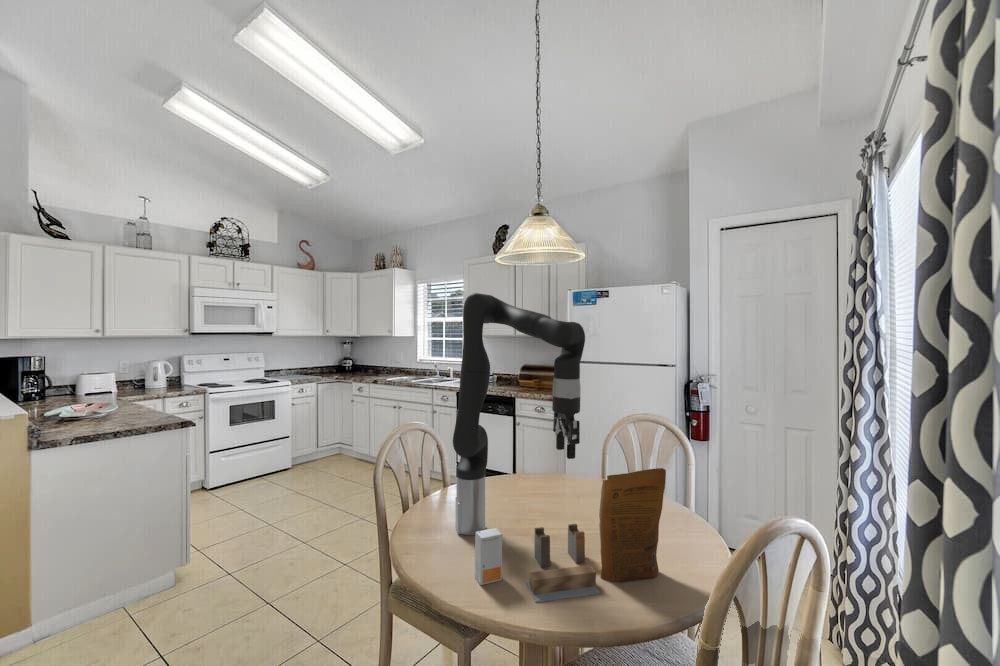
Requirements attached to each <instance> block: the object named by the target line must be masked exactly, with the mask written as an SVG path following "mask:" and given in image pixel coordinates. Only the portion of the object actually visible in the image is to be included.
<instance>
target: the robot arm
mask: <svg viewBox="0 0 1000 666" xmlns="http://www.w3.org/2000/svg"><path fill="white" fill-rule="evenodd" d="M462 320H463V322H462V325H463V326H462V327H463V330H462V331H463V337H462V338H463V339H462V341H463V342H462V355H461V366H460V368H461V369H460V378H459V392H458V393H459V394H458V403H457V404H458V406H457V415H456V421H455V425H454V430H453V434H452V435H453V436H452V446H453V449H454V451H455V453H456V454H457V455H458V456H459V457H460V459H459V462H458V465H456V480H455V481H456V483H455V484H456V487H455V489H456V490H455V491H456V496H455V529H456V533H457V535H463V536H464V535H465V536H475V532H477V531H482V530H486V470H487V466H488V457H489V454H488V453H489V438H488V433H487V431H486V429H485V428H484V427H483V426H482V425H480V415H481V410H482V408H483V404H484V402H485V399H486V397H487V393H488V391H489V385H490V376H491V362H490V360H489V356H488V352H487V349H486V347H485V345H484V339H483V335H484V334H483V333H484V324H499V325H505V326H508V327H510V328H513V329H514V330H516V331H518V332H520V333H522V334H523V335H526V336H529V337H533V338H536V339H539V340H542V341H544V342H545V343H547V344H549V345H552V346H554V347H558V348H561V351H560V355H558V356H557V357H556V358H555V359H554V363H553V382H552V405H551V406H552V408H551V409H552V412H553V425H552V426H553V429H552V430H553V433H554V434H555V437H556V440H555V444H556V445H555V447H556V450H557V451H562V450H565V441H566V458H567V459H568V460H573V459H576V445H579V444H580V442H581V441H580V440H581V439H580V434H581V433H580V420H576V419H575V415H576V414H580V413H581V412H580V411H581V391H582V390H581V381H580V380H581V378H580V377H581V375H580V374H581V360H582V357H583V354H584V353H583V352H584V348H585V344H586V343H585V342H586V334H585V333H586V332H585V329H584V327H583V326H582V325H581V324H580V323H578V322H576V321H562V320H557V319H554V318H552V317H551V316H549V315H548V314H547V315H546V314H544V313H541V312H540V313H539V312H537V311H532V310H528V309H524V308H520V307H516V306H513V305H511V304H509V303H507V302H504V301H503V300H501V299H499V298H497V297H495V296H493V295H492V294H486V293H485V294H484V293H478V292H473V293H470V294H469V295H468V296H467V297H466V298H465V301H464V303H463V309H462Z"/></svg>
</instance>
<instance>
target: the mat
mask: <svg viewBox="0 0 1000 666" xmlns="http://www.w3.org/2000/svg"><path fill="white" fill-rule="evenodd" d="M526 584H527V586H528V589H529V591H530V592H531V594H532V597H533V599H534V600H535V603H543V602H549V601H556V600H563V599H565V600H566V599H570V598H578V597H585V596H591V595H592V596H593V595H598V594H601V592H600V590H599V589H598V588H597V587H596V586H594V587H587V588H580V589H572V590H565V591H558V592H551V593H544V594H536V595H534V594H533V592H532V590H531V588H530V580H529V581H526Z"/></svg>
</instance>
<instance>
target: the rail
mask: <svg viewBox="0 0 1000 666" xmlns="http://www.w3.org/2000/svg"><path fill="white" fill-rule="evenodd" d="M596 579H597V572H596V570H595V569H594V568H593V567H592V565H591V564H586V565H577V566H570V567H562V568H555V569H546V570H538V571H531V572H530V571H529V581H530V588H531V590H532V592H533V594H534V595H536V594H544V593H551V592H558V591H565V590H572V589H580V588H587V587H594V586H596V585H597V583H596V581H597V580H596Z"/></svg>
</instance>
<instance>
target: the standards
mask: <svg viewBox="0 0 1000 666" xmlns="http://www.w3.org/2000/svg"><path fill="white" fill-rule="evenodd" d="M585 539H586V538H585V531H584V530H582V531H580V530H579V529H578V524H577V523H571V524H568V525H567V554H568V555H569V556H570V557H571V559H572V560H573V562H574V563H575V565H576V564H584V563H585V562H586V561H585V559H586V558H585V557H586V555H585V553H586V551H585V550H586V548H585V547H586V546H585V545H586V543H585V542H586V540H585ZM534 559H535V560H536V562H537V564H538V565H539V567H540V569H545V568H551V536H550V535H549V534H546V533H545V528H544V527H534Z"/></svg>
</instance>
